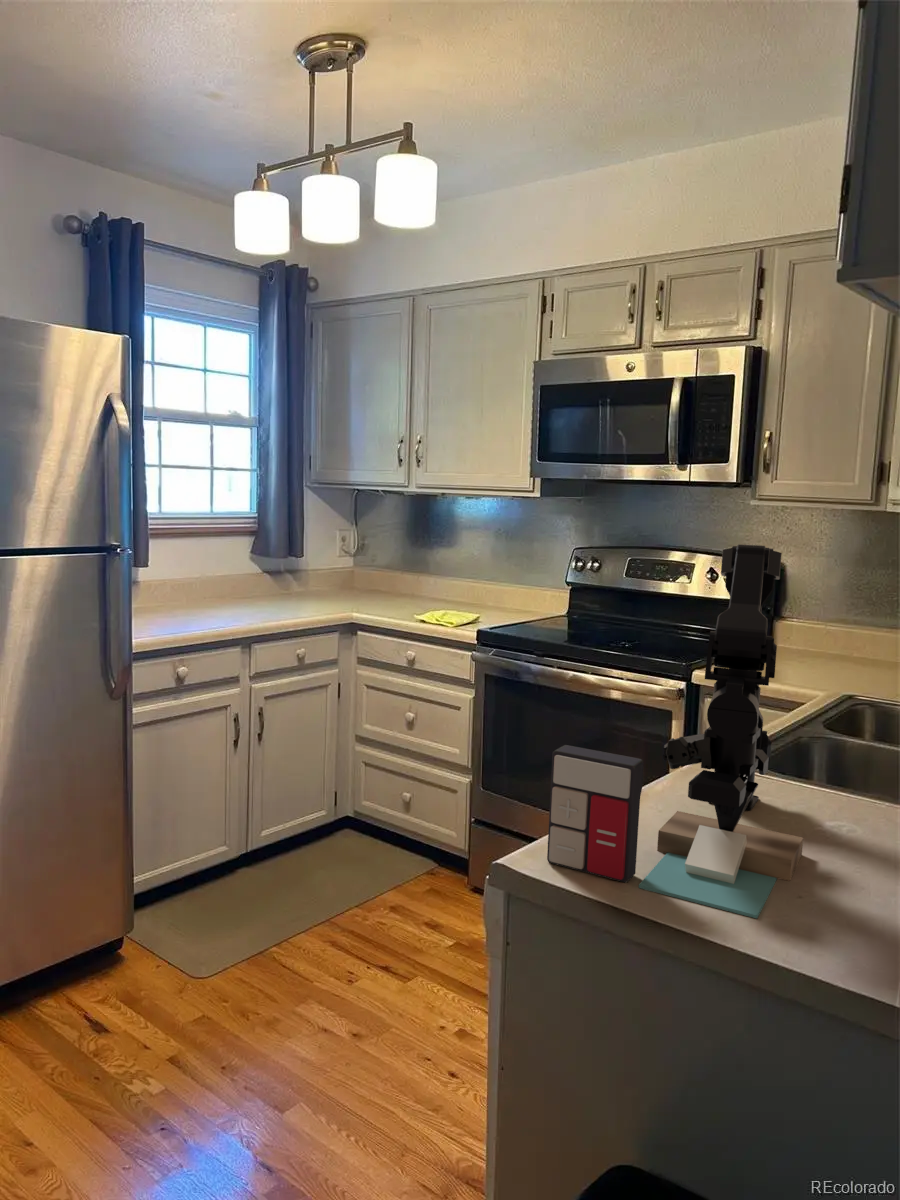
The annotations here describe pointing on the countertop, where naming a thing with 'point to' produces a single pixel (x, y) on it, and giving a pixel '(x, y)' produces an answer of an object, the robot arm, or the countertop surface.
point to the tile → (716, 854)
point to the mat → (709, 887)
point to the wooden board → (761, 852)
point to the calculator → (594, 812)
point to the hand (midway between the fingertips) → (725, 837)
